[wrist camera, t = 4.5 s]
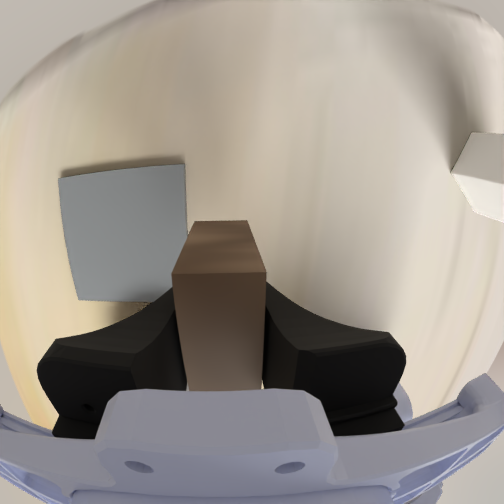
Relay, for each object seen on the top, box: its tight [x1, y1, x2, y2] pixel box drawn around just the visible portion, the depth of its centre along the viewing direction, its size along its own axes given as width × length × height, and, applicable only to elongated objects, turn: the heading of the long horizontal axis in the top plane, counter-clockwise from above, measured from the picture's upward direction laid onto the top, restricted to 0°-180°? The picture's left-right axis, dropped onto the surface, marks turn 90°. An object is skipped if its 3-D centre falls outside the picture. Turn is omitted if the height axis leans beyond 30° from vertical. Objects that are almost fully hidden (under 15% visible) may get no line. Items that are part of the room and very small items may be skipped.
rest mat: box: [58, 164, 188, 302], centre depth 18 cm, size 10×10×1 cm
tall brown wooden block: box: [171, 220, 267, 391], centre depth 11 cm, size 2×6×6 cm, turn 179°
